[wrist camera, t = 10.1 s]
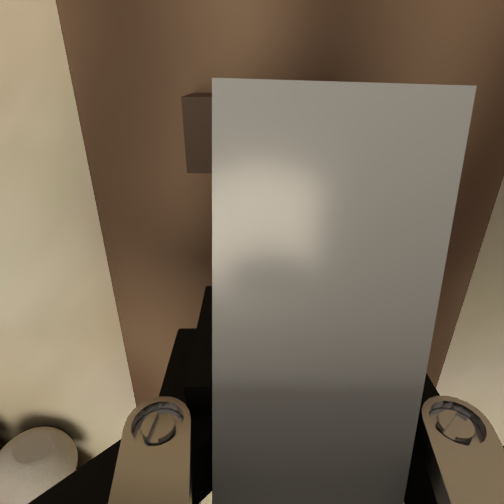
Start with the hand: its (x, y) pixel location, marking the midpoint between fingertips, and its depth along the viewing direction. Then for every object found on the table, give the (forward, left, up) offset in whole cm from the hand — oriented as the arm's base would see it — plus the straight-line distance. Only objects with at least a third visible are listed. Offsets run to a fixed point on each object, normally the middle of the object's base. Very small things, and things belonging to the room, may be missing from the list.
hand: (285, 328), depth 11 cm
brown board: (0, 0, -5) cm, 5 cm away
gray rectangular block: (0, +1, -2) cm, 2 cm away
